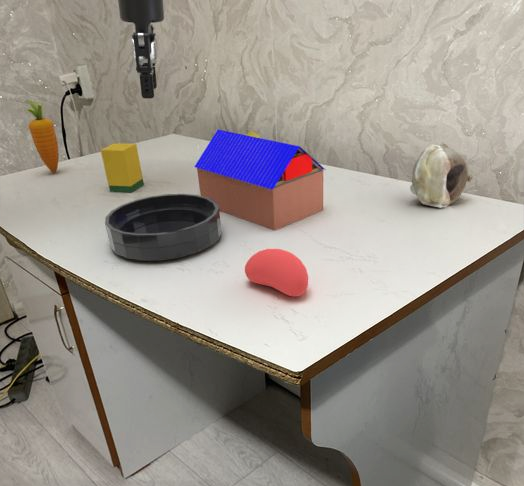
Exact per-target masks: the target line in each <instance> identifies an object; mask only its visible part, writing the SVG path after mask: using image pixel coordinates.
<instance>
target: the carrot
mask: <svg viewBox="0 0 524 486" xmlns="http://www.w3.org/2000/svg"><path fill="white" fill-rule="evenodd" d="M28 103H29V105H30V106H31V107H32V108H31V107H26V111H27V112H29V113H31V114H32V116H33V117H35V118H34V119H32V120H31V121H30V122H29V123H28V129H29V133H30V135H31V138H32V141H33V144H34V147H35V149H36V151H37V153H38V155H39V157H40V159H41V160H42V162H43V164H44V165H45V166H46V168H48V170H49V171H50V172H51V173H53V172H55V173H57V171H58V167H59V160H60V159H59V158H60V155H59V144H58V139H57V134H56V130H55V126H54V122H53V121H52V120H51V119H50V118H46V117H43V107H42V103H40V102H37V103H36V104H37V106H36V104H35V103H34V101H33V100H31V99H30V100H28Z"/></svg>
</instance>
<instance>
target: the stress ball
mask: <svg viewBox="0 0 524 486" xmlns="http://www.w3.org/2000/svg"><path fill="white" fill-rule="evenodd" d="M244 274H245V276H246V278H247V279H248V280H249V281H250V282H252V283H255V284H257V285H258V284H259V285H261V286H267V287H271V288H273V289H275V290H277V291H278V292H281V293H282V294H284V295H286V296H288V297H289V296H290V297H299V296H302V295H303V294H304V293H306V291H307V289H308V287H309V275H308V272H307V268H306V266H305V264H304V263H303V261H302V260H301V259H300V258H299V257H298V256H296V255H295V254H293V252H290V251H288V250H285V249H282V248H266V249H263V250H259V251H257V252H256V253H255V254H253V255H251V256H250V258H249V259H248V260H247V262H246V263H245V266H244Z"/></svg>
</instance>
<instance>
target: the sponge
mask: <svg viewBox="0 0 524 486" xmlns="http://www.w3.org/2000/svg"><path fill="white" fill-rule="evenodd" d="M100 153H101V158H102V162H103V167H104V171H105V175H106V180H107V185H108V189H109V192H112V191H113V192H116V193H133V192H135V191H136V190H138V189H139V188H140V187H142V186H144V185H145V183H144V178H143V172H142V167H141V162H140V161H141V160H140V157H139V156H140V155H139V151H138V147H137V143H125V142H123V143H121V142H120V143H119V142H118V143H117V142H116V143H115V142H114V143H112V144H110V145H107V146H106V147H103V148H101V149H100Z"/></svg>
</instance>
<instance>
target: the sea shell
mask: <svg viewBox="0 0 524 486" xmlns="http://www.w3.org/2000/svg"><path fill="white" fill-rule="evenodd" d="M473 178H474V176H473V175H472V174H469V169H468V165H467V163H466V160H465V158H464V157H463V156H462V154H461V153H460V152H458V151H457V150H455V149H454V148H451V147H449V146H448V145H447V144H445V143H444V142H441V143H440V144H433V143H432V144H429V146H427V147H426V148H424V150H422V152H420V154H419V155H418V157H417V159H416V160H415V163H414V165H413V168H412V175H411V185H410V192H411V194H412V195H415V196H416V197H417V199H418V200H419V201H420V204H422V205H426V206H430V207H433V208H434V207H435V208H439V209H441V208H447V207H448V206H450V205H453V204H455V202H456V201H457V200H458V199H459V198H460V196H461V195H462V194H463V192H464V190H465V188H466V186H467V183H470V182H471V181H472V180H473Z"/></svg>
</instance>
